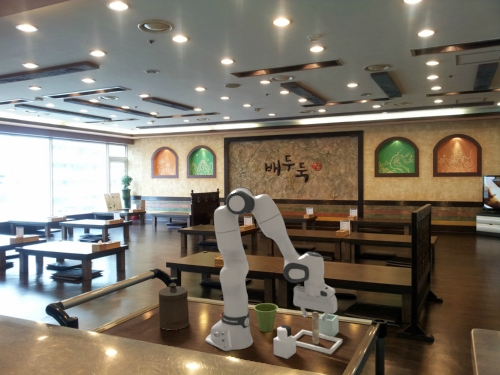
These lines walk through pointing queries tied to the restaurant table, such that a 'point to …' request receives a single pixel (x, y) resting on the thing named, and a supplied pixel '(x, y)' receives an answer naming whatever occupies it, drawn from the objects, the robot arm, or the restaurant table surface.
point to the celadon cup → (329, 325)
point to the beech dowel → (315, 327)
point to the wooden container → (173, 307)
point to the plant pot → (266, 316)
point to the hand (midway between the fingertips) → (314, 318)
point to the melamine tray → (324, 350)
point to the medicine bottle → (284, 342)
